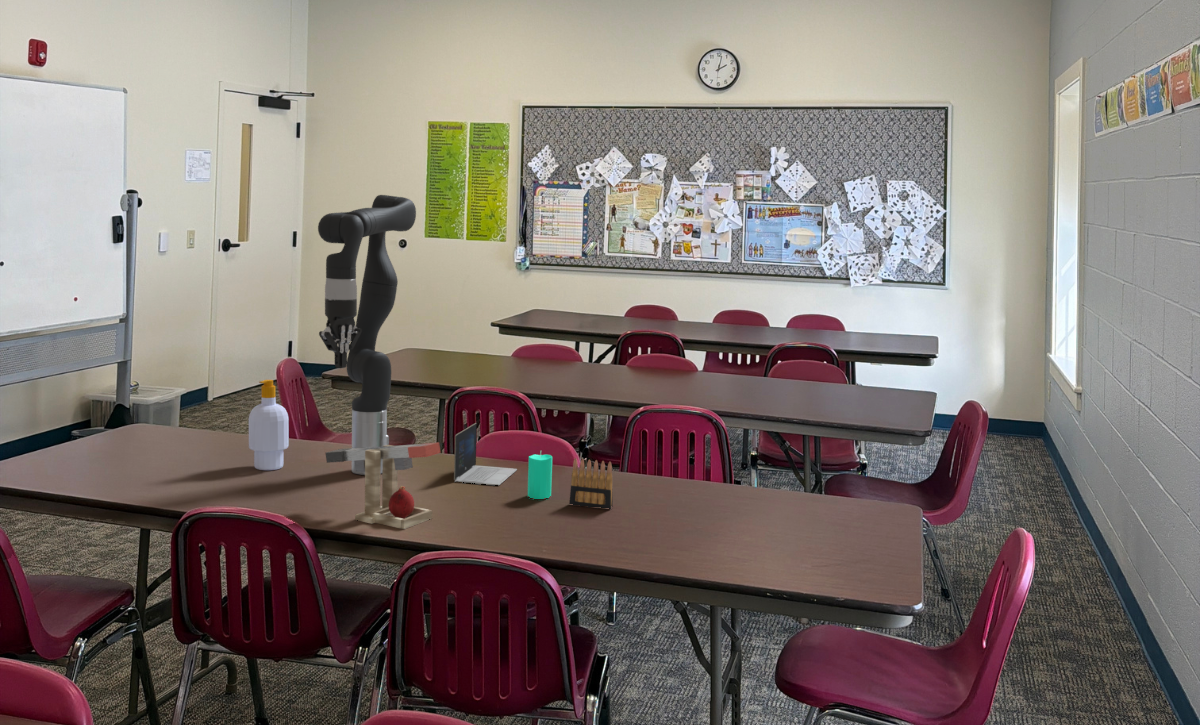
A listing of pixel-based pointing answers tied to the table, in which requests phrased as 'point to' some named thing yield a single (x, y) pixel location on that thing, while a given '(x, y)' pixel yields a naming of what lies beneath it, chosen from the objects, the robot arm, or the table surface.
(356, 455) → the lever
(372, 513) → the press stand
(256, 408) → the soap bottle
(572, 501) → the ammunition clip
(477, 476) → the laptop
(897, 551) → the table surface
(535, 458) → the candle
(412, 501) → the onion
